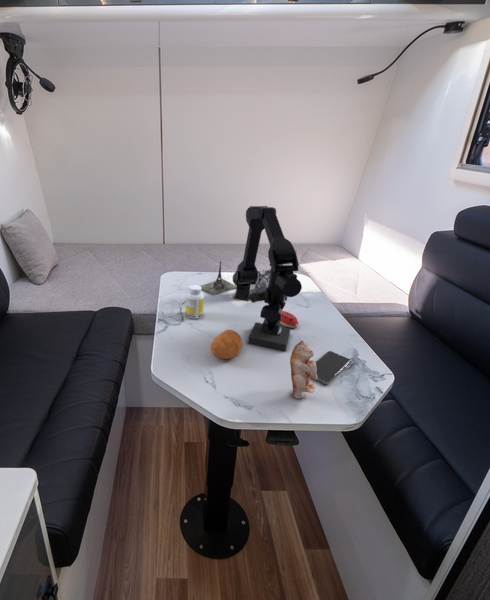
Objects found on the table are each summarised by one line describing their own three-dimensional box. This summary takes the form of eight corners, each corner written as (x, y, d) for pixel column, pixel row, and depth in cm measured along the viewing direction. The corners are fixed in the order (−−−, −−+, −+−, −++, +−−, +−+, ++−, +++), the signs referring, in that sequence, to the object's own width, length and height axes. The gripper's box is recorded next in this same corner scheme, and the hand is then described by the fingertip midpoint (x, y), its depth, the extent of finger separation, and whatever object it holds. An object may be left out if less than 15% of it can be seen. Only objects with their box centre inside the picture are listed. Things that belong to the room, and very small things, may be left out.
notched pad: (254, 328, 132) (255, 322, 131) (289, 335, 128) (290, 328, 127) (248, 343, 123) (248, 337, 122) (285, 351, 119) (286, 344, 118)
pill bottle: (203, 312, 143) (204, 284, 138) (202, 320, 137) (204, 291, 132) (186, 310, 143) (187, 283, 138) (184, 318, 138) (185, 290, 133)
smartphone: (303, 371, 108) (329, 349, 118) (303, 374, 109) (328, 352, 119) (328, 383, 103) (352, 359, 113) (327, 386, 104) (351, 362, 114)
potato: (248, 354, 117) (251, 334, 114) (225, 368, 110) (227, 347, 107) (226, 342, 123) (227, 323, 120) (203, 355, 116) (204, 335, 113)
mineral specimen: (266, 288, 155) (267, 264, 157) (246, 289, 161) (247, 267, 163) (279, 293, 164) (280, 271, 166) (260, 294, 170) (261, 273, 172)
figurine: (310, 405, 97) (320, 357, 90) (281, 394, 100) (289, 347, 94) (315, 392, 102) (326, 345, 95) (288, 382, 105) (296, 336, 99)
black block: (264, 326, 130) (265, 316, 128) (279, 329, 128) (281, 318, 127) (261, 333, 126) (263, 322, 124) (277, 336, 124) (278, 325, 122)
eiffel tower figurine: (222, 280, 172) (224, 252, 166) (238, 287, 165) (241, 258, 159) (197, 287, 164) (199, 258, 158) (213, 295, 157) (215, 265, 151)
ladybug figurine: (283, 315, 142) (285, 307, 140) (303, 326, 134) (305, 318, 132) (270, 319, 138) (271, 310, 137) (289, 331, 131) (291, 322, 129)
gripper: (258, 270, 130) (253, 310, 137) (246, 290, 114) (242, 334, 121) (291, 275, 126) (284, 315, 133) (283, 296, 110) (276, 341, 117)
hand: (271, 326), depth 126 cm, fingers closed on black block, 5 cm apart
